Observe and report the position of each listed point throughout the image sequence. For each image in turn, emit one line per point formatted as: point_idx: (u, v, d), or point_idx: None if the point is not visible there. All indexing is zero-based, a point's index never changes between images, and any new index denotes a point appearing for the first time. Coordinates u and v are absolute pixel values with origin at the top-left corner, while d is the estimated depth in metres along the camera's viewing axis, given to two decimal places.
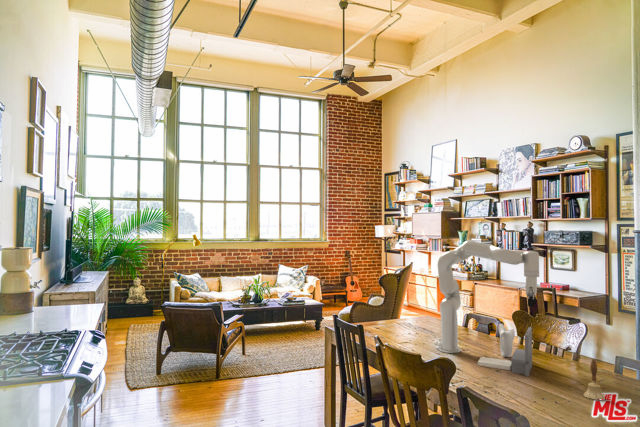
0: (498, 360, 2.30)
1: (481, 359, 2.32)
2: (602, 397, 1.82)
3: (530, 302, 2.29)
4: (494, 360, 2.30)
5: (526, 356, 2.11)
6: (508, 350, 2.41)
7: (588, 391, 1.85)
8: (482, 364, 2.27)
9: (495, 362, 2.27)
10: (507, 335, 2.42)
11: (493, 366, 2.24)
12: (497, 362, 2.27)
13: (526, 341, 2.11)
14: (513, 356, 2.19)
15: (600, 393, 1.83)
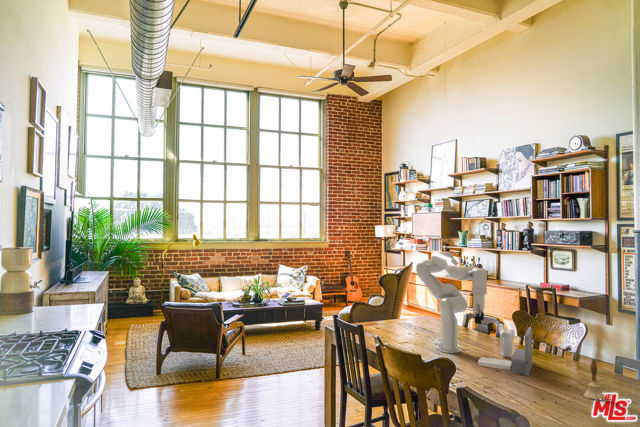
0: (498, 360, 2.30)
1: (481, 359, 2.32)
2: (602, 397, 1.82)
3: (477, 319, 2.31)
4: (494, 360, 2.30)
5: (526, 356, 2.11)
6: (508, 350, 2.41)
7: (588, 391, 1.85)
8: (482, 364, 2.27)
9: (496, 362, 2.27)
10: (507, 335, 2.42)
11: (493, 366, 2.24)
12: (497, 362, 2.27)
13: (526, 341, 2.11)
14: (513, 356, 2.19)
15: (600, 393, 1.83)
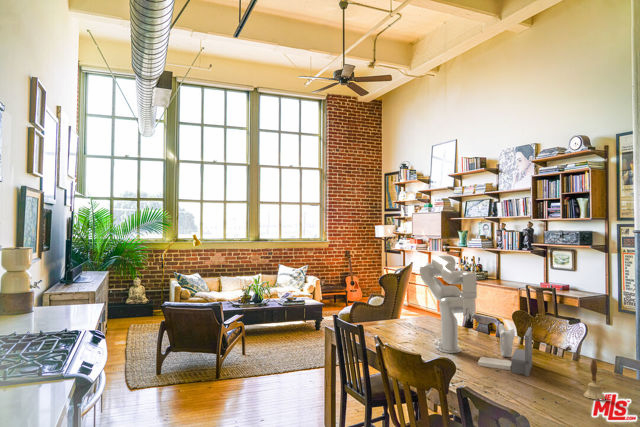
0: (498, 360, 2.30)
1: (481, 359, 2.32)
2: (602, 397, 1.82)
3: (468, 324, 2.34)
4: (494, 360, 2.30)
5: (526, 356, 2.11)
6: (508, 350, 2.41)
7: (588, 391, 1.85)
8: (482, 364, 2.27)
9: (496, 362, 2.27)
10: (507, 335, 2.41)
11: (493, 366, 2.24)
12: (497, 362, 2.27)
13: (526, 341, 2.11)
14: (513, 356, 2.19)
15: (600, 393, 1.83)
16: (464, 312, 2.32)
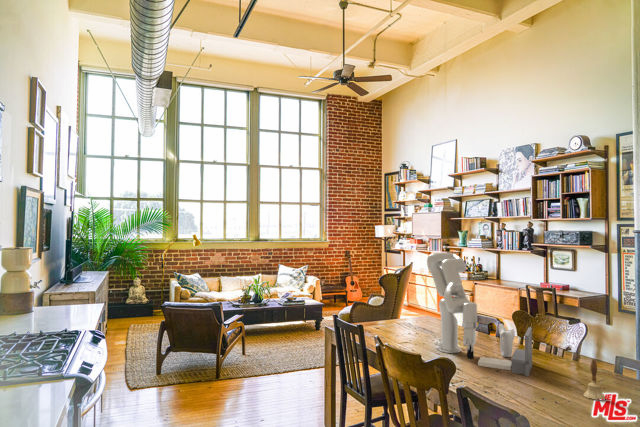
0: (498, 360, 2.30)
1: (481, 359, 2.31)
2: (602, 397, 1.82)
3: (469, 354, 2.34)
4: (494, 360, 2.30)
5: (526, 356, 2.11)
6: (508, 350, 2.41)
7: (588, 391, 1.85)
8: (482, 364, 2.27)
9: (496, 362, 2.27)
10: (507, 335, 2.42)
11: (493, 366, 2.24)
12: (497, 362, 2.27)
13: (526, 341, 2.11)
14: (513, 356, 2.19)
15: (600, 393, 1.83)
16: (464, 342, 2.32)
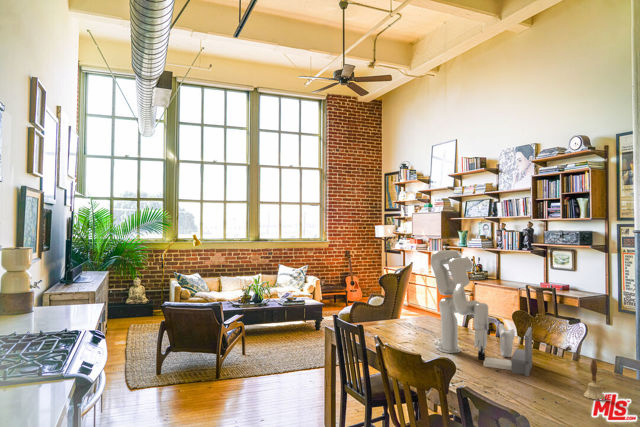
0: (503, 360, 2.29)
1: (486, 359, 2.30)
2: (602, 397, 1.82)
3: (480, 356, 2.31)
4: (499, 361, 2.29)
5: (526, 356, 2.11)
6: (508, 350, 2.41)
7: (588, 391, 1.85)
8: (487, 365, 2.26)
9: (501, 362, 2.26)
10: (507, 335, 2.41)
11: (499, 366, 2.23)
12: (503, 362, 2.26)
13: (526, 341, 2.11)
14: (513, 356, 2.19)
15: (600, 393, 1.83)
16: (476, 344, 2.29)
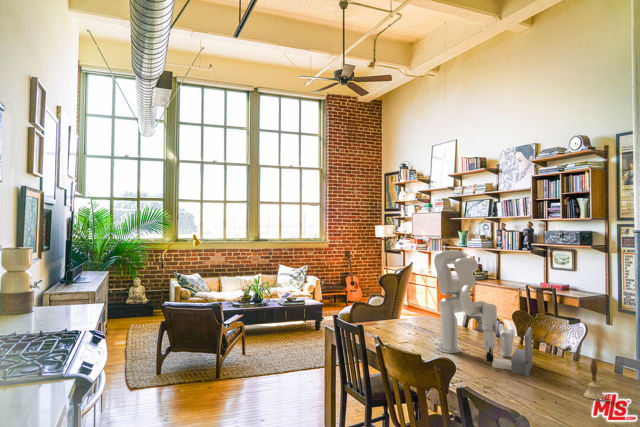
0: None
1: (495, 360, 2.29)
2: (602, 397, 1.82)
3: (488, 357, 2.29)
4: (508, 361, 2.27)
5: (526, 356, 2.11)
6: (508, 350, 2.41)
7: (588, 391, 1.85)
8: (496, 366, 2.24)
9: (510, 363, 2.25)
10: (507, 335, 2.42)
11: (508, 367, 2.21)
12: None
13: (526, 341, 2.11)
14: (513, 356, 2.19)
15: (600, 393, 1.83)
16: (484, 345, 2.27)
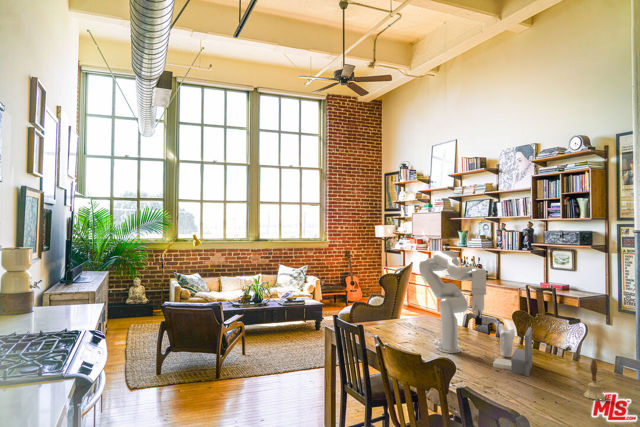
0: None
1: (496, 361, 2.29)
2: (602, 397, 1.82)
3: (477, 321, 2.32)
4: (509, 362, 2.27)
5: (526, 356, 2.11)
6: (508, 350, 2.41)
7: (588, 391, 1.85)
8: (497, 366, 2.24)
9: None
10: (507, 335, 2.41)
11: (509, 368, 2.21)
12: None
13: (526, 341, 2.11)
14: (513, 356, 2.19)
15: (600, 393, 1.83)
16: (473, 308, 2.30)
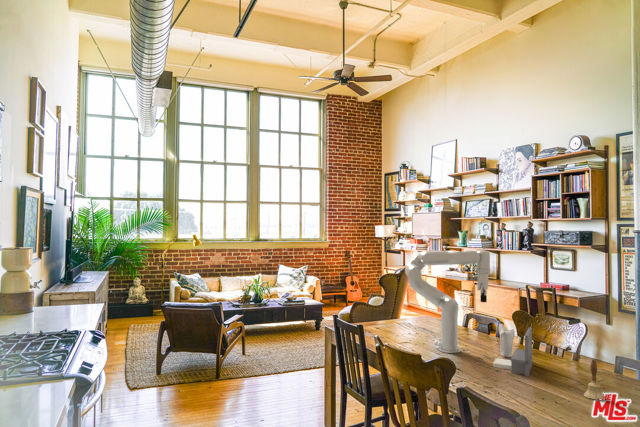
0: None
1: (496, 361, 2.29)
2: (602, 397, 1.82)
3: (482, 298, 2.55)
4: (509, 362, 2.27)
5: (526, 356, 2.11)
6: (508, 350, 2.41)
7: (588, 391, 1.85)
8: (497, 366, 2.24)
9: None
10: (507, 335, 2.41)
11: (509, 368, 2.21)
12: None
13: (526, 341, 2.11)
14: (513, 356, 2.19)
15: (600, 393, 1.83)
16: (478, 287, 2.53)
